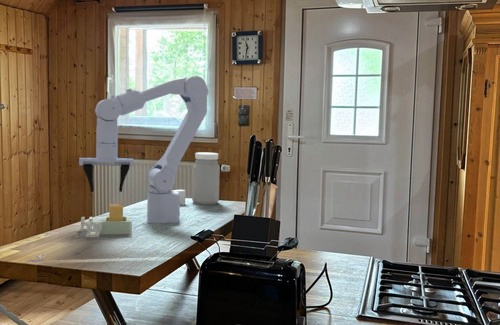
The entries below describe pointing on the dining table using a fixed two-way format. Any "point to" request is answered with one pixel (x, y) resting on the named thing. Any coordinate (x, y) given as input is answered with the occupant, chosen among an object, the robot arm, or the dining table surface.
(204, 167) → the jar
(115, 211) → the connector plug
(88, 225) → the cable clip
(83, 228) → the cable clip
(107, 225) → the end holder
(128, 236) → the mat
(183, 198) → the napkin holder
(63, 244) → the dining table surface
